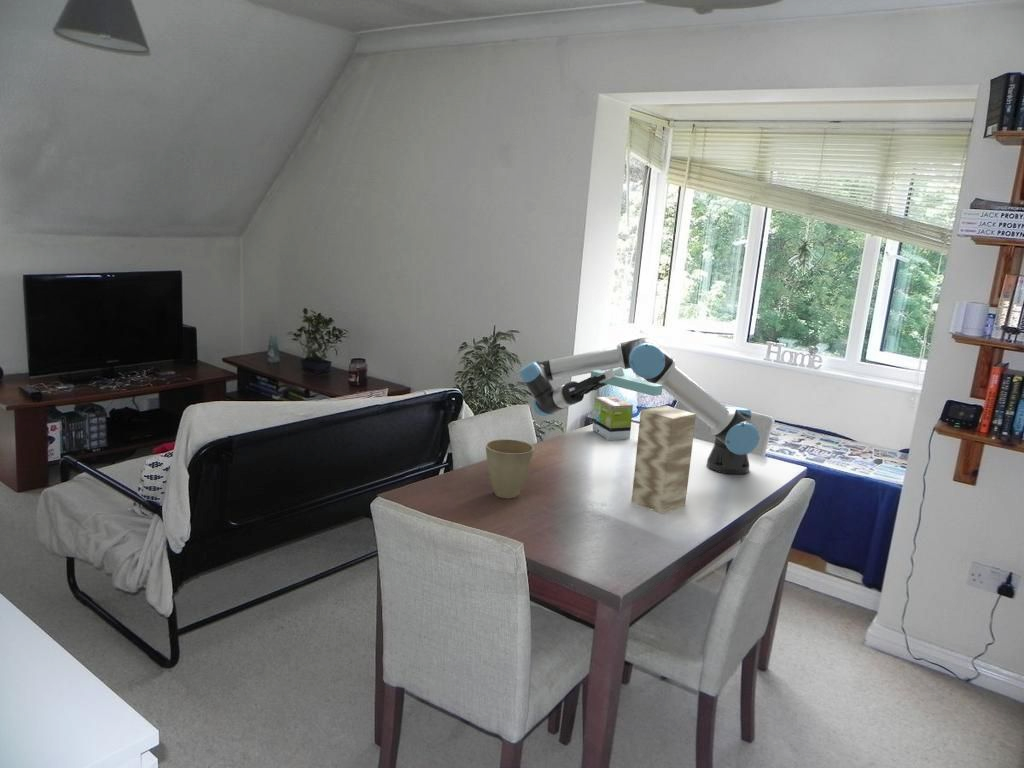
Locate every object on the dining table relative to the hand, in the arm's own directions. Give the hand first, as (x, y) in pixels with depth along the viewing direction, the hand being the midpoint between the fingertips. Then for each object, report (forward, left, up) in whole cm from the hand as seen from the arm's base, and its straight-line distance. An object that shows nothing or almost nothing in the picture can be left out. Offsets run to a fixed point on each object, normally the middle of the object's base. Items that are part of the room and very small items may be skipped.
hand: (617, 372), depth 254 cm
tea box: (-7, -64, -39) cm, 75 cm away
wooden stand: (-15, +15, -39) cm, 44 cm away
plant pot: (+33, +16, -39) cm, 53 cm away
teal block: (-2, +2, -4) cm, 5 cm away
